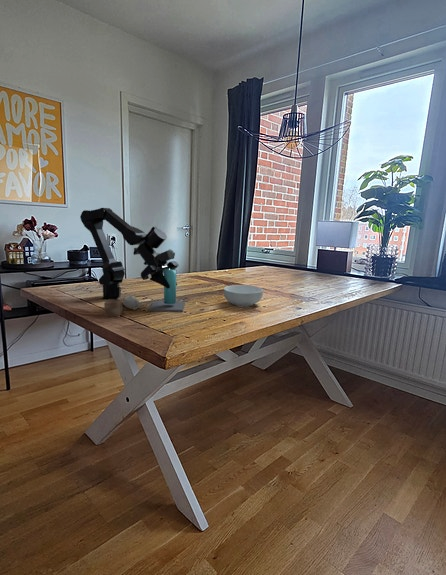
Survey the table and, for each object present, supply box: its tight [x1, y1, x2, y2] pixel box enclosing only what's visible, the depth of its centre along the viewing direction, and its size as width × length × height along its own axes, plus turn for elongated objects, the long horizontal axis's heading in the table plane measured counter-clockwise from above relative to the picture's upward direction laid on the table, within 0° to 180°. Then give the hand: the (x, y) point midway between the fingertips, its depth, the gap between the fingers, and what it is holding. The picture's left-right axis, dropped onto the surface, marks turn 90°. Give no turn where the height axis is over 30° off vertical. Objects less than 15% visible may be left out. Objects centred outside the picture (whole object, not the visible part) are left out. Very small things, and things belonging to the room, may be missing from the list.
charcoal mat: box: [147, 300, 186, 313], centre depth 132 cm, size 13×13×1 cm
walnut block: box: [103, 299, 124, 317], centre depth 119 cm, size 5×5×5 cm
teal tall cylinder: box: [163, 269, 177, 304], centre depth 130 cm, size 5×5×13 cm
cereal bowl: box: [223, 284, 264, 308], centre depth 141 cm, size 17×17×7 cm
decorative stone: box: [122, 294, 141, 311], centre depth 132 cm, size 6×16×3 cm, turn 28°
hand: (172, 286), depth 129 cm, fingers closed on teal tall cylinder, 5 cm apart
